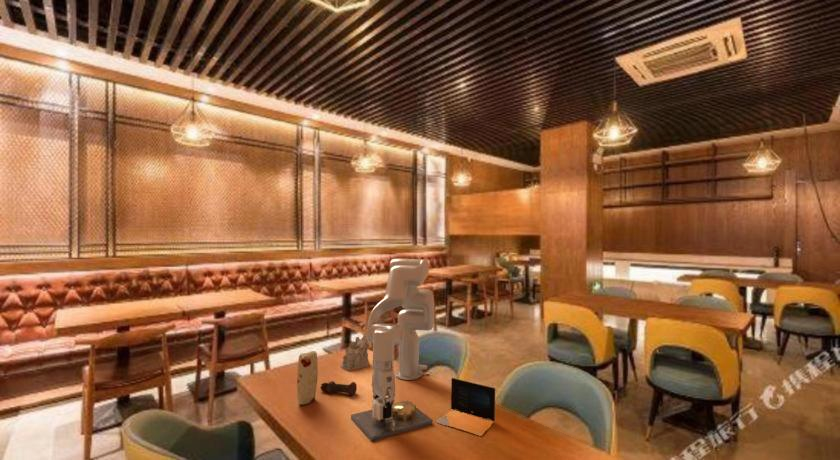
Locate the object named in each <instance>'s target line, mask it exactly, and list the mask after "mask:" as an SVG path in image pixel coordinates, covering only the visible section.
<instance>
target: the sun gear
mask: <svg viewBox="0 0 840 460" xmlns="http://www.w3.org/2000/svg"><path fill="white" fill-rule="evenodd" d="M406 401H407V400H406ZM406 401H405V400H401V401H397V402H396V401H394V402H393V406H392V415H393V416H394V417H395V419H403V420H407V419H409V418H414V414H416V408H417V405H416V404H414V403H413V402H412V401H409V402H406Z"/></svg>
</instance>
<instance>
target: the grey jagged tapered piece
mask: <svg viewBox="0 0 840 460" xmlns="http://www.w3.org/2000/svg"><path fill="white" fill-rule="evenodd" d="M366 340H367V338H366V334H365V335H363V336H362V337H361V339H360V337H359V336H356V337H355V341H353V342H350V343H349V345H348V346H347V348H346V349H345V353H344V356H343V357H342V362H341V365H340V368H341V369H344V370H345V371H353V370H358V369H363V368H366V367H367V366H369V364H370V361H369V353H368V348H369V345H368V344H367V341H366Z"/></svg>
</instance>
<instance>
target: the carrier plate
mask: <svg viewBox="0 0 840 460" xmlns="http://www.w3.org/2000/svg"><path fill="white" fill-rule="evenodd" d="M406 402H410V401H409V400H406ZM392 406H393V405H392ZM350 420H351V421H352V422H353V423H354V424H355V425H356V426H357V427H358V429H360V431H361V432H362V433H363V434H364V435H365V436H366V437H367V438H368V439H369V441H370V442H371V443H372V442H376V441H379V440H383V439H386V438H389V437H393V436H396V435H400V434H403V433H406V432H411V431H413V430H417V429H420V428H423V427H427V425H428V426H431V425H433V419H432V418H431V417H430V416H428V415H427V414H426V413H424V412H423V411H422V410H421V409H419V408H418V407H416V414H414V418H409V419H407V420H403V419H395V417H394V416H393V415H392V416H391V417H390V418H388V419H386V420H385V419H380V420H377V418H373V417H372V409H369V410H364V411H361V412H357V413H354V414H351V415H350Z"/></svg>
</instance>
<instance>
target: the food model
mask: <svg viewBox="0 0 840 460" xmlns="http://www.w3.org/2000/svg"><path fill="white" fill-rule="evenodd" d="M318 371H319V367H318V352H317V351H315V350H311V351H309V352H305V353H300V354H299V355H298V362H297V373H296V383H297V384H296V386H297V387H296V388H297V401H298V405H307V404H310V403H312V402H314V401H315V399H316V393H317V386H318V380H319V379H318V375H319V373H318Z"/></svg>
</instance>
